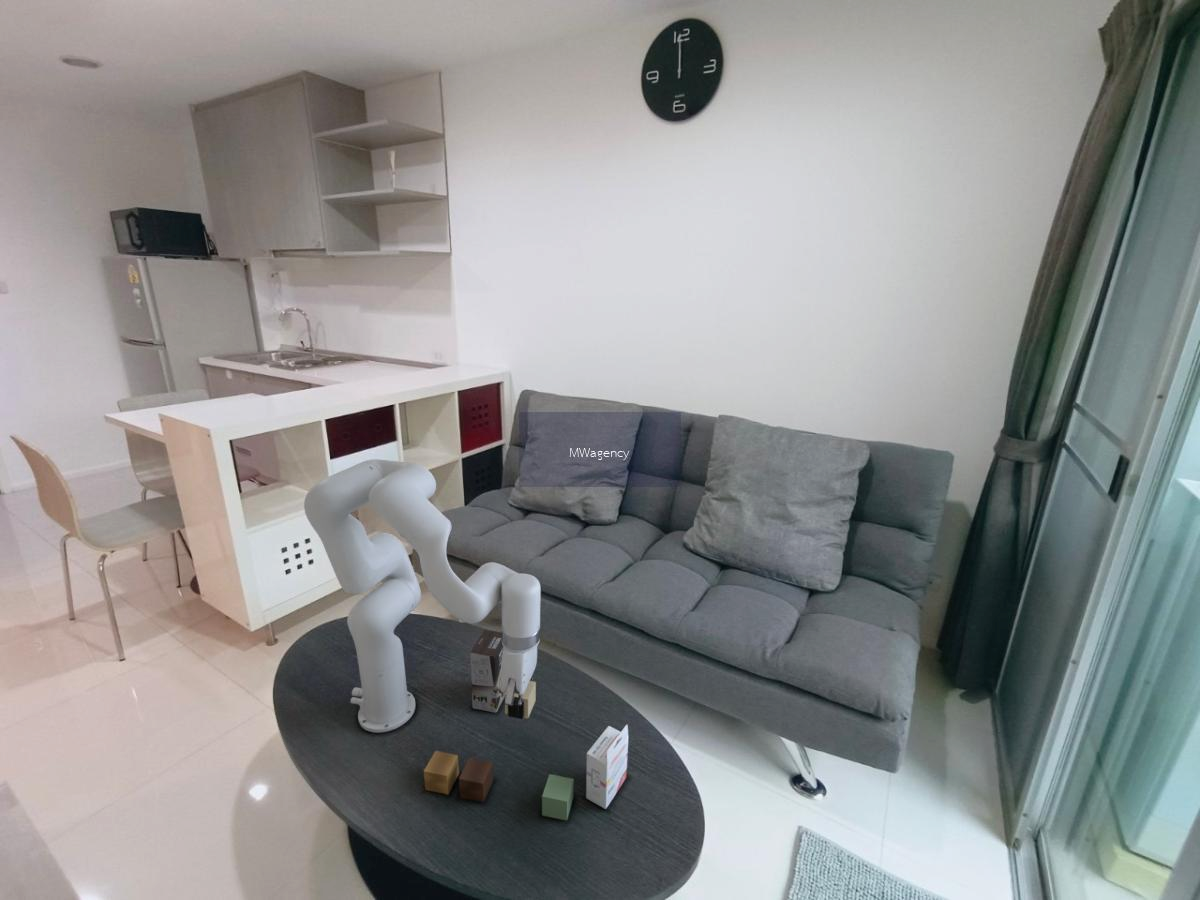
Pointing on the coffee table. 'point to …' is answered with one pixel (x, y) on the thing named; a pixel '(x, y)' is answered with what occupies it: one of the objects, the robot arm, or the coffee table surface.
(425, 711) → the coffee table surface
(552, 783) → the sage block
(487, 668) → the coffee box
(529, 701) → the cream block
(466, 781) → the walnut block
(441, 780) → the honey block
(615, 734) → the ink cartridge box
